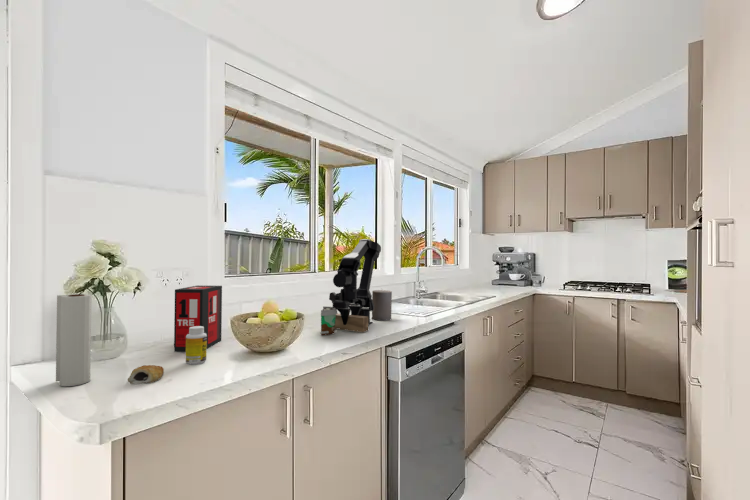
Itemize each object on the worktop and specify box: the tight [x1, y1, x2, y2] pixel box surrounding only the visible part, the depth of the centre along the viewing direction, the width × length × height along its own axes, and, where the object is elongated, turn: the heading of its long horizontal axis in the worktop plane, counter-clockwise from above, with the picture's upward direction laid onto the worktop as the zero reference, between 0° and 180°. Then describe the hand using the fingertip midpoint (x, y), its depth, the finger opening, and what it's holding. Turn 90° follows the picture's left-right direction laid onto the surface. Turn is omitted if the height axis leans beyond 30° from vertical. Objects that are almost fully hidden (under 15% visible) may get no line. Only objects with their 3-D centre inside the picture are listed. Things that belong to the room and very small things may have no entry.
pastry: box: [127, 364, 165, 385], centre depth 101 cm, size 9×7×4 cm
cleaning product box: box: [173, 285, 223, 353], centre depth 136 cm, size 16×9×20 cm, turn 0°
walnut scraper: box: [335, 313, 369, 333], centre depth 168 cm, size 4×16×6 cm, turn 60°
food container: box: [320, 306, 338, 336], centre depth 161 cm, size 12×6×10 cm, turn 3°
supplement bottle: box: [185, 326, 208, 365], centre depth 116 cm, size 6×6×10 cm
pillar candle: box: [371, 289, 393, 321], centre depth 196 cm, size 10×10×15 cm
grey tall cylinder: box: [55, 293, 92, 387], centre depth 97 cm, size 7×6×21 cm
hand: (349, 323), depth 168 cm, fingers open, 7 cm apart
